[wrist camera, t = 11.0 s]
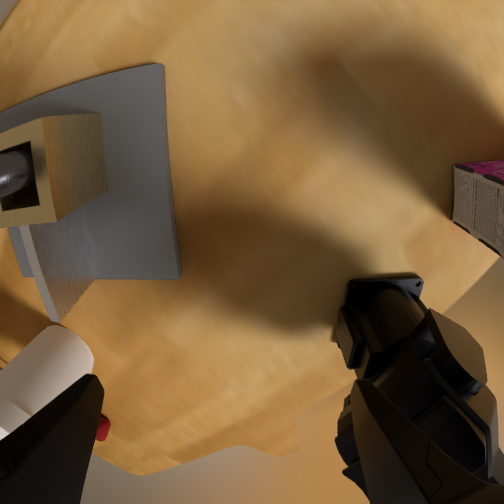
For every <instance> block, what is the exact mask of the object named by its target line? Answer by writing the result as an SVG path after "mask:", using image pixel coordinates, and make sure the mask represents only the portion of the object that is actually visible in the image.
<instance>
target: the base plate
mask: <svg viewBox="0 0 504 504" xmlns="http://www.w3.org/2000/svg"><path fill="white" fill-rule="evenodd" d="M92 113H101V117H102V131H103V143H104V154H105V163H106V171H107V179H108V186H109V190H108V191H106V192H104V193H103V194H101V195H99V196H98V197H96V198H94V199H93V200H91V201H89V202H88V203H86V204H85V208H86V213H87V218H88V223H89V228H90V233H91V237H92V242H93V246H94V250H95V255H96V259H97V263H98V266H99V270H100V274H99V275H98V276H97V278H96V279H137V280H179V279H180V276H181V274H182V268H181V261H180V254H179V246H178V239H177V231H176V222H175V214H174V205H173V195H172V185H171V174H170V162H169V149H168V134H167V116H166V93H165V65H163V64H161V63H157V64H151V65H145V66H140V67H135V68H131V69H126V70H122V71H117V72H113V73H109V74H105V75H101V76H98V77H94V78H90V79H87V80H84V81H80V82H77V83H74V84H71V85H68V86H65V87H62V88H59V89H56V90H53V91H50V92H48V93H45V94H42V95H40V96H37V97H35V98H32V99H30V100H27V101H25V102H23V103H20V104H18V105H16V106H14V107H11V108H9V109H7V110H5V111H3V112H1V113H0V133H2V132H5V131H7V130H10V129H12V128H15V127H17V126H20V125H22V124H25V123H28V122H30V121H33V120H36V119H39V118H42V117H50V116H61V115H74V114H92ZM8 229H9V233H10V237H11V240H12V244H13V247H14V251H15V254H16V257H17V260H18V264H19V267H20V270H21V273H22V276H23V277H34V275H33V272H32V269H31V266H30V263H29V260H28V257H27V253H26V250H25V247H24V243H23V239H22V236H21V232H20V228H19V226H13V227H8Z"/></svg>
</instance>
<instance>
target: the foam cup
mask: <svg viewBox="0 0 504 504" xmlns="http://www.w3.org/2000/svg"><path fill="white" fill-rule="evenodd" d="M93 361H94V357H93V355H92V353H91V351H90V349H89V347H88V346H87V345H86V344H85V342H84V341H83V340H82V339H81V338H80V337H79V336H78V335H76V334H75V333H73V332H72V331H70V330H69V329H67V328H65V327H61V326H58V325H52V326H47V327H46V329H44V330H43V331H41V332H40V333H39V334H38V335H37V336H36V337H35V338H34V339H33V340H32V341H31V342H30V343H29V344H28V345H27V346H26V347H25V348H24V349H23V350H22V351H20V352H19V353H18V354H17V355H16V356H15V357H14V358H13V359H12V360H11V361H10V362H9V363H8V364H7V365H6V366H5V367H4V368H3V369H2V370H1V371H0V440H1V439H3V438H4V437H5V436H7V435H8V434H10V433H11V432H12V431H14V430H15V429H16V428H18V427H19V426H20V425H21V424H24V422H25V421H26V420H28V419H29V418H30V417H31V416H33V415H34V414H35V413H36V412H38V411H39V410H40V409H42V408H43V407H44V406H45V405H47V404H48V403H49V402H50V401H52V400H53V399H54V398H55V397H57V396H58V395H59V394H60V393H62V392H63V391H64V390H65V389H67V388H68V387H69V386H70V385H72V384H73V383H74V382H76V381H77V380H78V379H79V378H81V377H82V376H83V375H84V374H87V373H88V374H91V372H92V367H93Z"/></svg>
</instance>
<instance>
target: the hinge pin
mask: <svg viewBox="0 0 504 504" xmlns="http://www.w3.org/2000/svg"><path fill="white" fill-rule="evenodd" d="M34 183H36V179H35V172H34V165H33V157H32V149H31V147H28V148H24V149H20V150H16V151H12V152H9V153H5V154H1V155H0V198H2V197H5V196H7V195H9V194H11V193H13V192H16V191H18V190H20V189H22V188H25V187H27V186H29V185H32V184H34Z"/></svg>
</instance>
